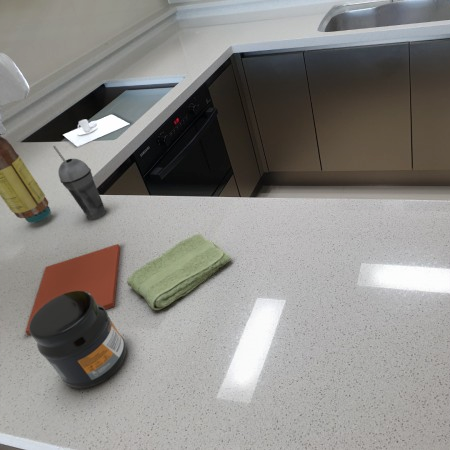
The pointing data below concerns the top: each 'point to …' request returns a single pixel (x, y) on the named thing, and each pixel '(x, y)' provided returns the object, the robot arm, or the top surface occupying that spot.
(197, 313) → the top surface
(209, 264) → the washcloth
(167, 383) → the top surface
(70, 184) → the beverage cup
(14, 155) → the sauce bottle
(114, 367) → the supplement container
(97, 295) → the condiment mat
